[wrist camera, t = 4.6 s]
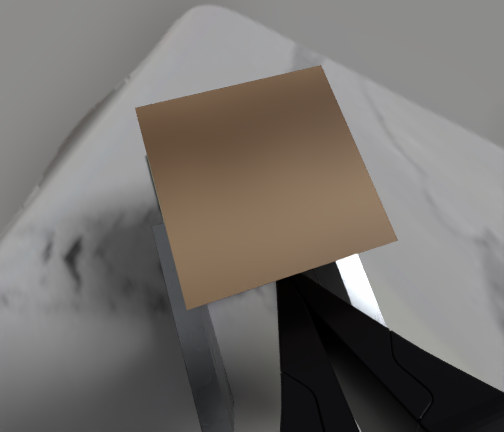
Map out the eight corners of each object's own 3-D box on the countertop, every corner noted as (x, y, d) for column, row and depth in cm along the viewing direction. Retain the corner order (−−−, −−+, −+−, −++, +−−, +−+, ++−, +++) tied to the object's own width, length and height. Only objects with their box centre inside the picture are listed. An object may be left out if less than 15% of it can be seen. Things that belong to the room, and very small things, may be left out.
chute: (365, 352, 17) (404, 370, 13) (212, 411, 16) (206, 449, 12) (278, 122, 21) (288, 83, 17) (147, 155, 19) (125, 122, 16)
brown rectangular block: (307, 267, 18) (397, 240, 8) (213, 298, 17) (187, 310, 7) (276, 179, 19) (321, 65, 9) (187, 204, 18) (135, 107, 9)
